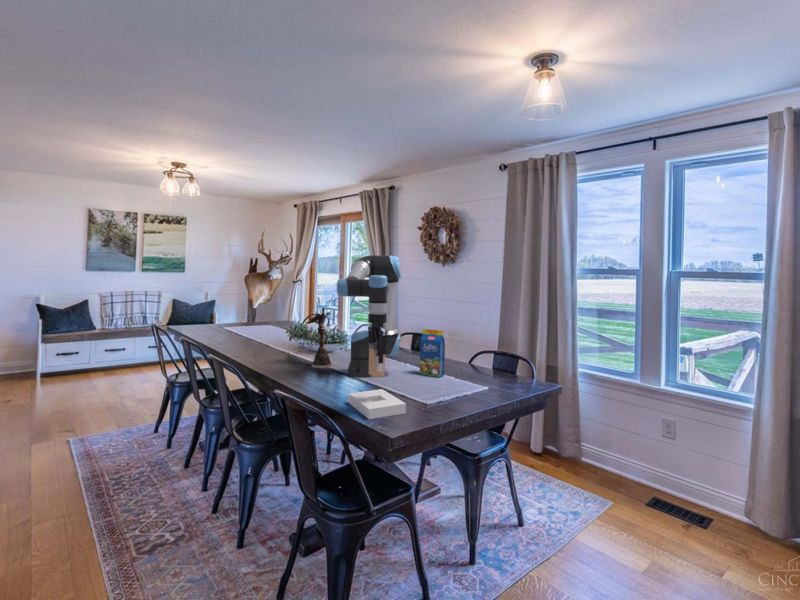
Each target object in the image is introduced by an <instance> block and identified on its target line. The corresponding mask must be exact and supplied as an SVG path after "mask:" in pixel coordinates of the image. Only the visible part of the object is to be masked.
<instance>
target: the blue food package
mask: <svg viewBox="0 0 800 600" xmlns="http://www.w3.org/2000/svg"><path fill="white" fill-rule="evenodd" d="M419 342H420V343H419V375H422V376H427V377H431V378H441V377H444V376H445V358H446V357H445V356H446V355H445V354H446V349H445V348H446V342H445V337H444V330H438V329H430V328H429V329H426V328H423V329H422V335H421V337H420V341H419Z"/></svg>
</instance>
